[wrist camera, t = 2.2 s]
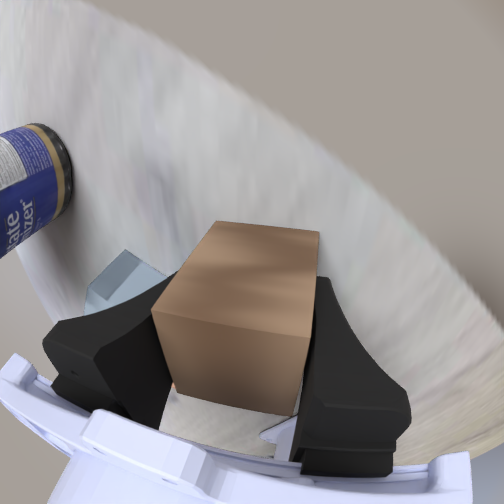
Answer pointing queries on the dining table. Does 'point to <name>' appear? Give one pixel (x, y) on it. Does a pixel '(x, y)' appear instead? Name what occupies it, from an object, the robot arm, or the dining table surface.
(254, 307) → the walnut block
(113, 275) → the light blue angle bracket
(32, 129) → the pill bottle
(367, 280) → the dining table surface
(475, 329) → the dining table surface
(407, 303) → the dining table surface
